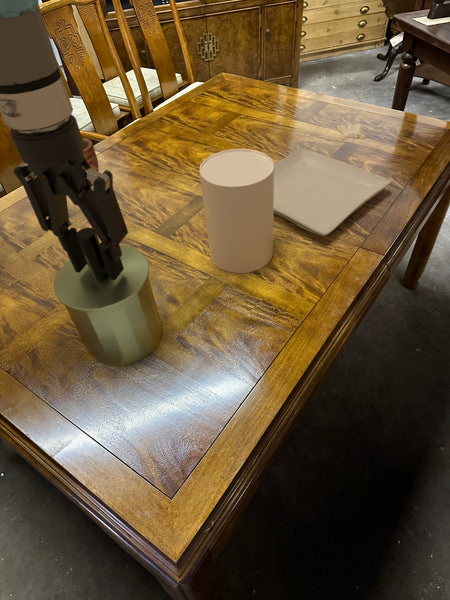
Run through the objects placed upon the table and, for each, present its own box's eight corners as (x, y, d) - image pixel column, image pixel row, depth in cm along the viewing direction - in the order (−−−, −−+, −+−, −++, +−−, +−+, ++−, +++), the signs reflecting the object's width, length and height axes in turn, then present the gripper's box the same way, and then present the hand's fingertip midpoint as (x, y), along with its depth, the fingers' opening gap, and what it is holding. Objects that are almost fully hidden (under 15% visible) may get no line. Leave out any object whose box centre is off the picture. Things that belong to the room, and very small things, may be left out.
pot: (72, 355, 74) (40, 298, 63) (112, 301, 82) (89, 243, 72) (139, 374, 70) (117, 317, 60) (174, 316, 79) (159, 257, 68)
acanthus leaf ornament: (336, 129, 127) (337, 123, 125) (359, 127, 127) (360, 121, 125) (341, 140, 122) (342, 134, 120) (365, 138, 121) (366, 132, 120)
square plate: (232, 203, 103) (231, 189, 101) (301, 159, 116) (302, 146, 113) (323, 247, 89) (325, 232, 86) (390, 192, 102) (394, 178, 99)
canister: (285, 257, 88) (289, 170, 73) (229, 281, 84) (222, 195, 69) (251, 225, 96) (248, 142, 82) (199, 246, 92) (186, 163, 78)
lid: (36, 303, 64) (10, 257, 57) (89, 243, 73) (72, 198, 66) (120, 324, 59) (102, 277, 53) (165, 258, 69) (154, 211, 62)
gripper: (-45, 128, 48) (35, 275, 65) (92, 143, 43) (141, 299, 60) (0, 102, 53) (64, 245, 70) (128, 113, 48) (164, 265, 64)
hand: (99, 270), depth 65 cm, fingers open, 6 cm apart
